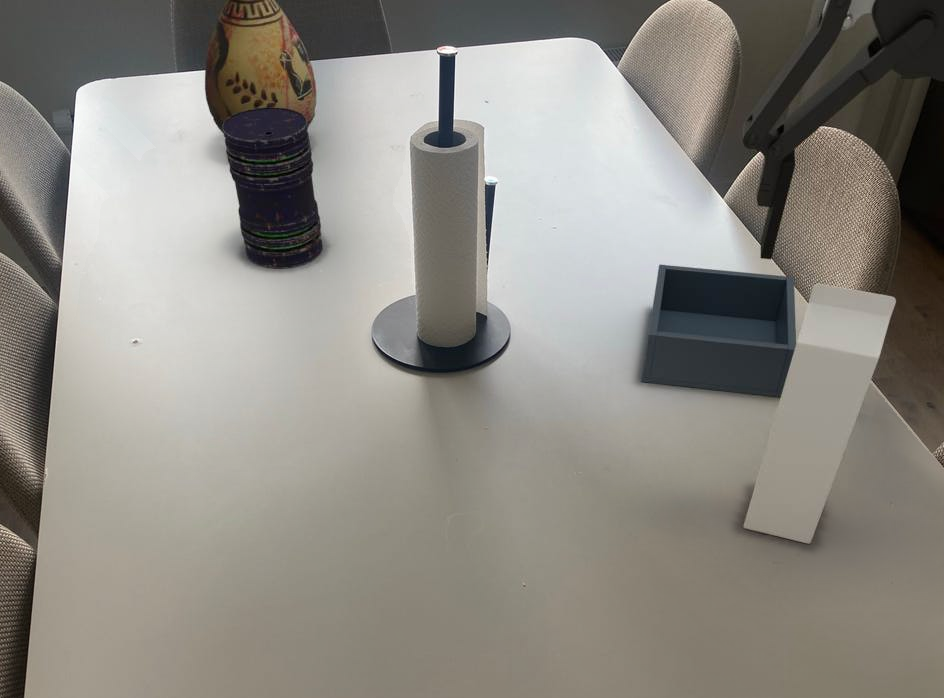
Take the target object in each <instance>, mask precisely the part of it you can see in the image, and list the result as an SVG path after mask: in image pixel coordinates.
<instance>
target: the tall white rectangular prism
mask: <svg viewBox="0 0 944 698" xmlns="http://www.w3.org/2000/svg"><path fill="white" fill-rule="evenodd" d="M896 303H897V299H896V297H894V296H892V295H886V294H881V293H875V292H869V291H864V290H857V289H853V288H852V289H851V288H846V287H841V286H835V285H831V284H830V285H829V284H823V283H816V284H814V286H812V289H811V292H810V296H809V300H808V303H807V307H806V310H805V313H804V316H803V319H802V320H803V321H802V323H801V327H800V330H799V333H798V336H797V339H796V347H795V350H794V354H793V357H792V361H791V364H790V368H789V371H788V374H787V378H786V381H785V385H784V388H783V392H782V395H781V397H779V402H778V406H777V409H776V413H775V416H774V419H773V422H772V426H771V430H770V433H769V437H768V440H767V443H766V446H765V450H764V454H763V456H762V461H761V464H760V468H759V471H758V475H757V478H756V481H755V485H754V487H753V492H752V495H751V498H750V501H749V505H748V509H747V512H746V515H745V519H744V523H743V526H742V528H743V529H746V530H750V531H754V532H759V533H763V534H766V535H771V536H775V537H778V538H784V539H787V540H792V541H795V542H800V543H804V544H808V545H809V544H811V543H812V541H813V538H814V535H815V533H816V529H817V527H818V524H819V521H820V518H821V515H822V513H823V510H824V508H825V506H826V502H827V499H828V497H829V494H830V491H831V488H832V486H833V484H834V482H835V478H836V475H837V473H838V470H839V467H840V464H841V462H842V459H843V458H844V457H843V456H844V454H845V451H846V448H847V446H848V443H849V441H850V438H851V436H852V435H851V434H852V432H853V429H854V427H855V425H856V422H857V419H858V416H859V413H860V410H861V407H862V405H863V402H864V400H865V397H866V394H867V391H868V389H869V387H870V383H871V381H872V378H873V376H874V372H875V370H876V367H877V365H878V362H879V360H880V357H881V353H882V349H883V345H884V342H885V338H886V335H887V332H888V328H889V324H890V320H891V317H892V315H893V312H894V309H895V306H896Z"/></svg>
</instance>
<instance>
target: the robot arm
mask: <svg viewBox="0 0 944 698" xmlns="http://www.w3.org/2000/svg"><path fill="white" fill-rule="evenodd" d="M865 15H871V20H872V23H873V26H874V30H875V31H876V34H875V35H874V36H873V37H872V38H871V39H869V41H867V42H866V43H865V44H864V45H863V46H862V47H861V48H859V50H858V51H857V52H856V54H855V56H854V57H853V58H852V59H850V61H849V62H848V63H846V64H845V65H844V66H843V67H842V68H840V70H838V72H836V73H835V74H834V75H833V76H832V77H831V78H829V79H828V80H827V81H826V82H825V83H823V84H822V86H821V87H819V88H818V89H817V90H816V91H814V93H813V94H812V95H810V96H809V97H808V98H807V99H806V100H805V101H804V102H803V103H801V105H799V106H798V107H796V109H795V110H794V111H792V112H791V113H790V114H789V115H788V116H787V117H785V119H783V120H782V121H781V122H780V123H779V124H778V125H777V126H775V125H776V123H777V122H778V121H779V119H780V118H781V117H782V115H784V113H785V111H786V110H787V108H788V107H789V106H790V104H791V103H792V102H793V100H794V99H795V98H796V96H797V95H798V94H799V92H800V91H801V89H803V87H804V85H805V84H807V81H808V80H809V79H810V78H811V76H812V75H813V73H814V72H815V71H816V70H817V68H818V66H819V65H820V64H821V62H822V61H823V60H824V58H825V57H826V56H827V54H828V53H829V52H830V50H831V49H832V47H833V45H834V44H835V43H836V41H837V39H838V37H839V35H840V33H841V31H849V30H850V29H852V28H853V27H854V26H855V24H857V21H858V20H859V19H860V18H861V17H863V16H865ZM890 71H892V72H893V73H895V74H896V75H898V76H899V79H904V80H916V79H922V78H927V77H928V78H931V79H933V80H936V81H938V82H944V0H823V4H822V5H821V9H820V12H819V15H818V17H817V19H816V21H815V22H814V23H813V25H812V26H811V28H810V29H809V31H808V32H807V33H806V34H805V36H804V37H803V39H802V40H801V41H800V43H798V46H797V47H796V49H795V50H794V52H793V53H792V54H791V56H790V57H789V58H788V60H787V61H786V63H785V64H784V66H783V67H782V69H781V70H780V71H779V73H778V74H777V76H776V77H775V78H774V79H773V81H772V82H771V84H770V85H769V87H768V88H767V89H766V91H765V92H764V94H763V95H762V97H761V98H759V99H760V100H758V102H757V103H756V104H755V106H754V107H753V108H752V110H751V112H750V113H749V114H748V116H747V117H746V119H745V121H744V122H743V128H742V144H743V147H745V148H746V149H748V150H755V151H758V152H759V153H761V154H762V156H763V163H762V166H761V169H760V174H759V177H758V183H757V187H756V203H757V207H762V208H763V207H764V208H768V209H767V213H766V217H765V221H764V226H763V229H762V234H761V238H760V259H761V260H763V259H765V260H772V257H773V254H774V250H775V245H776V243H777V240H778V239H777V238H778V234H779V230H780V226H781V223H782V219H783V215H784V211H785V208H786V203H787V199H788V195H789V191H790V187H791V184H792V180H793V176H794V172H795V169H796V152H795V150H796V149H797V148H798V147H799V146H800V145H801V144H803V143H804V142H805V141H806V140H807V139H808V138H810V137H811V136H812V135H813V134H814V133H816V131H818V130H819V129H821V127H822V126H823V125H824V124H826V123H827V122H828V121H830V119H832V118H833V117H834V116H835V115H836V114H837V113H839V112H841V110H842V109H844V107H845V106H847V105H848V104H849V103H851V101H852V100H854V99H855V98H856V97H857V96H858V95H860V93H862V92H863V91H864V90H866V89H867V88H868V87H870V86H873V85H875V84H876V83H877V82H879V81H880V80H881V79H882V78H883V77H885V76H886V75H887V74H888V73H890ZM774 126H775V127H774Z"/></svg>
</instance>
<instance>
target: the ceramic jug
mask: <svg viewBox="0 0 944 698" xmlns="http://www.w3.org/2000/svg"><path fill="white" fill-rule="evenodd" d="M314 74H315V73H314V69H313V66H312V64H311V60H310V57H309V55H308V52H307V50H306V47H305V46H304V42H303V41H302V40H301V38H300V37H299V34H298V32H297V31H296V30H295V28H294V26H293V25H292V23H291V21H290V20H289V19H288V17H287V15H286V13H285V12H284V11H283V9H282V8H281V7H280V5H279V3H277V2H276V0H225V2H224V6H223V9H222V11H221V13H220V15H219V17H218V19H217V23H216V25H215V27H214V30H213V32H212V35H211V38H210V41H209V43H208V48H207V53H206V59H205V71H204V92H205V100H206V103H207V107H208V110H209V113H210V115H211V117H212V118H213V122H214V123H215V125H216V127H217V128H218V130H219V131H220V132H221V133H222V134H223V135H224V133H223V128H222V126H223V123H224V121H225V120H226V119H227V118H229V117H230V116H232V115H234V114H236V113H239V112H242V111H246V110H250V109H256V108H265V107H277V108H286V109H291V110H294V111H297V112H299V113H301V114H303V115H304V116H305V118H306V120H307V126H308V128H309V127H310V125H311V124H312V123H313V121H314V119H315V116H316V107H317V83H316V79H315V75H314Z"/></svg>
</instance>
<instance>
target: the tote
mask: <svg viewBox="0 0 944 698" xmlns="http://www.w3.org/2000/svg"><path fill="white" fill-rule="evenodd" d="M653 295H654V296H653V301H652V303H653V304H652V308H651V315H650V322H649V328H648V334H647V335H648V336H647V341H646V349H645V355H644V361H643V368H642V375H641V383H649V384H659V385H667V386H677V387H684V388H695V389H704V390H712V391H721V392H731V393H740V394H749V395H759V396H767V397H776V398H781V395H782V392H783V388H784V385H785V381H786V378H787V374H788V371H789V368H790V364H791V361H792V357H793V354H794V350H795V347H796V343H797V329H796V327H797V326H796V301H795V277H794V276H789V275H788V276H785V275H777V274H765V273H753V272H743V271H733V270H723V269H714V268H713V269H712V268H711V269H710V268H703V267H691V266H679V265H669V264H667V265H666V264H659V265H658V270H657V276H656V284H655V289H654V294H653Z"/></svg>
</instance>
